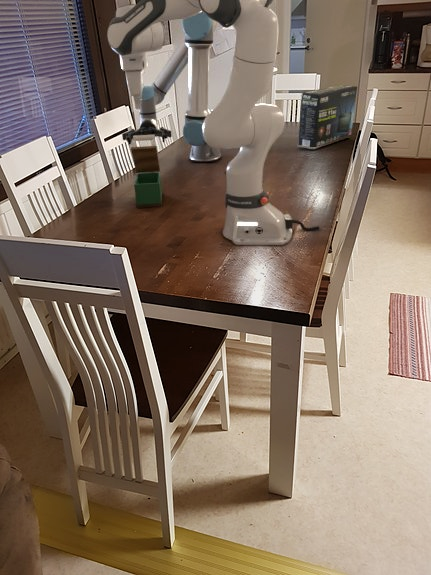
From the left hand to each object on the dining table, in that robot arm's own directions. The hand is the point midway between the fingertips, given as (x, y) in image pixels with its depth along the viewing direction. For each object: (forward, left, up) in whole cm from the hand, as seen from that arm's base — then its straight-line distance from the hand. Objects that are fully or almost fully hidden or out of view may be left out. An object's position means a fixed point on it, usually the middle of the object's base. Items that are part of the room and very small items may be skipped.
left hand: (146, 139), depth 183 cm
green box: (+15, +7, -19) cm, 25 cm away
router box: (-88, +59, -19) cm, 108 cm away
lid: (+13, +6, -4) cm, 15 cm away
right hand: (+17, +8, +16) cm, 24 cm away
